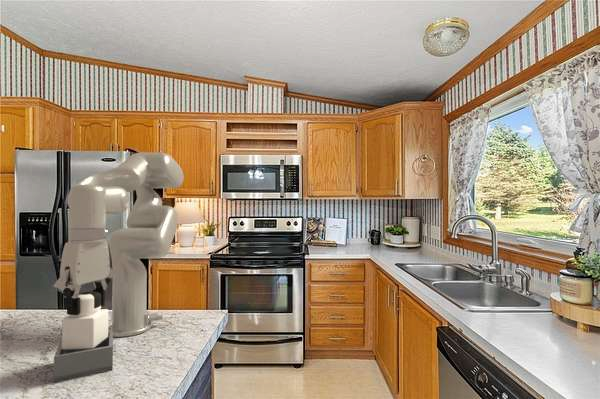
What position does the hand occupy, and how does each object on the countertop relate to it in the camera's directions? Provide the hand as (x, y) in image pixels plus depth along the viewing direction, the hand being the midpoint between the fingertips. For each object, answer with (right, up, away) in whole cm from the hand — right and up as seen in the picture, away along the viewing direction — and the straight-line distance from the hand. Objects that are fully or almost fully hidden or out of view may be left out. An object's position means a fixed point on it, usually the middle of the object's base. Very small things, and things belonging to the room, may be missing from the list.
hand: (86, 309), depth 80 cm
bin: (0, -13, 0) cm, 13 cm away
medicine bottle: (0, -8, 0) cm, 8 cm away
